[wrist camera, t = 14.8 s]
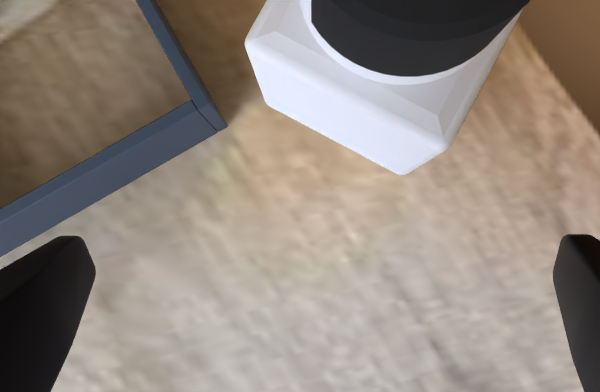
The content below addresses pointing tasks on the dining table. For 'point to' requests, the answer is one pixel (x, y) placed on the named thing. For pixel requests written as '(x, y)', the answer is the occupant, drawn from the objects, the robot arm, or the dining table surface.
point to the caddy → (118, 151)
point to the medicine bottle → (379, 69)
